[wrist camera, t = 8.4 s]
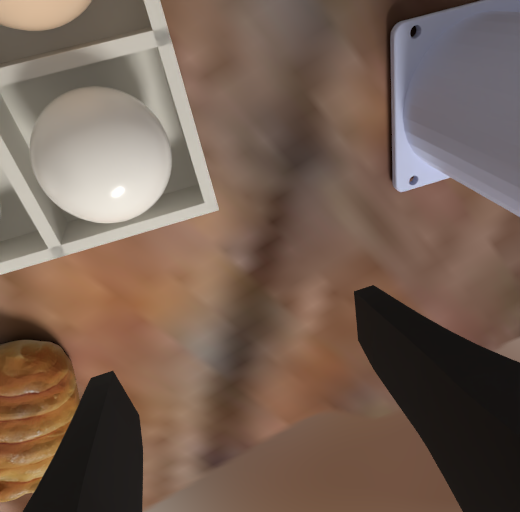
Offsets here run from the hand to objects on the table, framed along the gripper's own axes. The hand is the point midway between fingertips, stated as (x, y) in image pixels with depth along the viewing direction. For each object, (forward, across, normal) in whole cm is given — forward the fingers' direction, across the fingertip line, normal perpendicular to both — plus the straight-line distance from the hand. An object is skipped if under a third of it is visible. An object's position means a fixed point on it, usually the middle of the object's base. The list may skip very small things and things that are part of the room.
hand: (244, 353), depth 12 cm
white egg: (+10, +3, -4) cm, 11 cm away
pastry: (+10, +13, +8) cm, 19 cm away
